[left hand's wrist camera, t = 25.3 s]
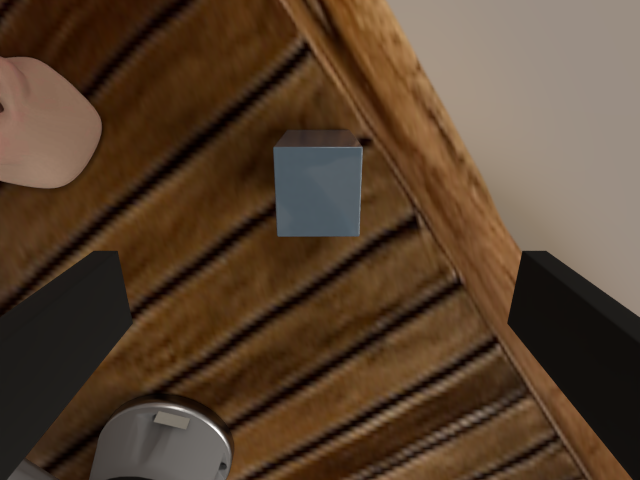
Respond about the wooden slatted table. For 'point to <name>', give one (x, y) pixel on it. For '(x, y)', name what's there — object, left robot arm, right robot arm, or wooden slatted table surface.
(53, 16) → the wooden slatted table surface
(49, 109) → the anatomical model
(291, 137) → the brick
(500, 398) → the wooden slatted table surface
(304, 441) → the wooden slatted table surface
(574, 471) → the wooden slatted table surface
